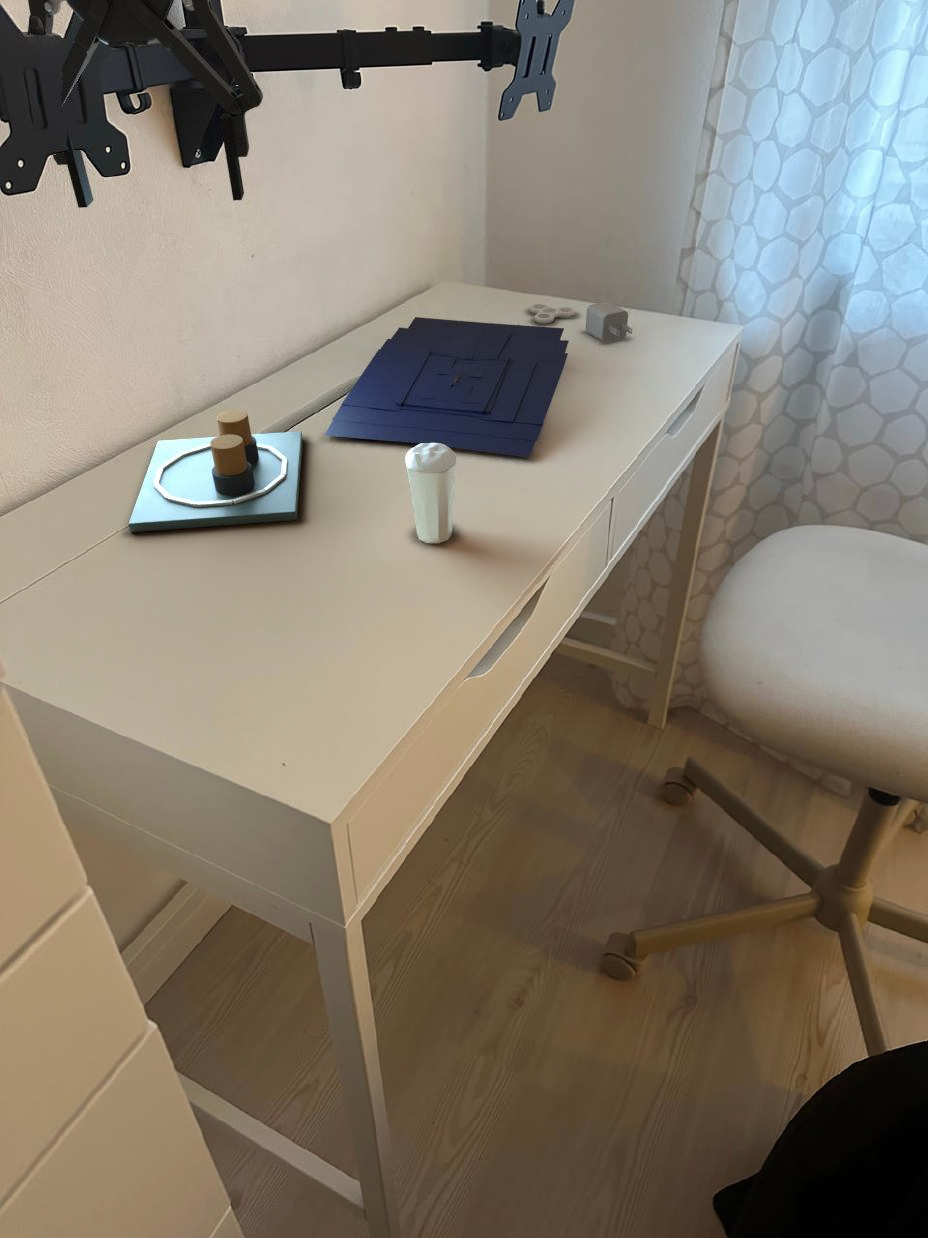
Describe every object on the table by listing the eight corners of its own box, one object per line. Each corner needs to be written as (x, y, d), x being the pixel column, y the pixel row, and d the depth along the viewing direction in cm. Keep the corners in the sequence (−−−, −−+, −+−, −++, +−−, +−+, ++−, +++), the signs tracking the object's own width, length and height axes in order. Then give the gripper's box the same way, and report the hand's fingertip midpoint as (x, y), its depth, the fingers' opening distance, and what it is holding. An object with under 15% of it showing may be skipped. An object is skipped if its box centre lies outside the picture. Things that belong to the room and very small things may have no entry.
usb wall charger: (609, 328, 128) (611, 300, 126) (636, 344, 123) (639, 315, 121) (585, 333, 127) (587, 305, 124) (611, 349, 122) (614, 320, 119)
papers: (577, 348, 119) (578, 322, 116) (531, 478, 98) (531, 450, 96) (403, 334, 124) (401, 309, 121) (325, 455, 103) (320, 428, 101)
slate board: (130, 532, 87) (127, 521, 86) (159, 448, 101) (157, 437, 100) (296, 520, 88) (295, 508, 87) (302, 438, 102) (301, 428, 101)
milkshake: (399, 547, 84) (392, 450, 77) (421, 519, 87) (415, 424, 81) (445, 556, 82) (441, 458, 76) (464, 526, 86) (462, 431, 80)
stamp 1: (219, 468, 94) (210, 425, 91) (223, 451, 98) (214, 408, 95) (257, 466, 95) (249, 422, 92) (260, 449, 98) (252, 406, 95)
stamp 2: (213, 497, 90) (203, 451, 87) (217, 478, 93) (208, 433, 90) (253, 494, 90) (245, 449, 87) (256, 475, 93) (248, 431, 90)
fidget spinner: (577, 312, 133) (577, 307, 133) (563, 326, 129) (563, 321, 128) (533, 307, 136) (533, 301, 135) (518, 320, 131) (518, 315, 131)
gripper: (268, -102, 72) (302, 184, 85) (-53, -95, 70) (32, 197, 83) (262, -106, 66) (299, 203, 79) (-89, -98, 64) (9, 217, 77)
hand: (163, 200), depth 81 cm, fingers open, 13 cm apart
